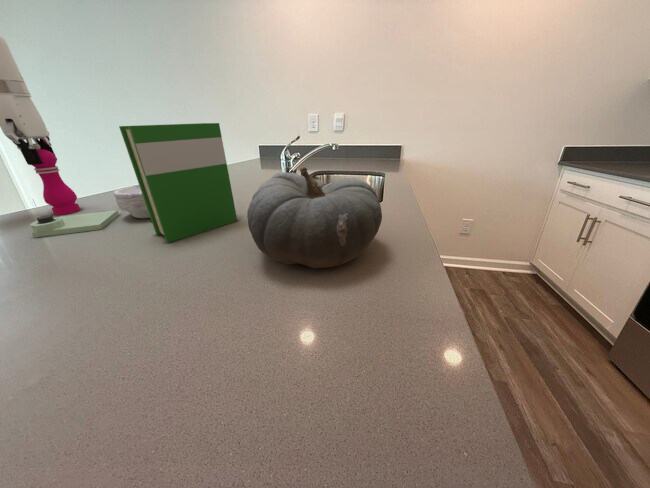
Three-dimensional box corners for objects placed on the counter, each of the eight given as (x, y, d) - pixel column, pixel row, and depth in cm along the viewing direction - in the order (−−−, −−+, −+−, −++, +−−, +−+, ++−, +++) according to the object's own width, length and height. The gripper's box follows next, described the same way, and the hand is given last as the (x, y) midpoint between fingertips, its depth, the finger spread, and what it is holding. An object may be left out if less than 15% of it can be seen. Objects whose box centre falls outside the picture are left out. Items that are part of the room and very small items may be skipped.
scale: (31, 238, 62) (24, 227, 61) (59, 221, 73) (54, 211, 71) (101, 229, 66) (96, 218, 65) (119, 214, 77) (115, 205, 75)
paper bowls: (172, 202, 87) (165, 179, 83) (190, 212, 77) (183, 186, 73) (118, 214, 77) (107, 188, 73) (130, 227, 67) (118, 197, 64)
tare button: (36, 225, 63) (33, 219, 62) (43, 221, 65) (40, 215, 64) (51, 223, 63) (47, 217, 63) (57, 220, 66) (54, 214, 65)
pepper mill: (46, 214, 79) (9, 144, 70) (74, 207, 85) (43, 142, 76) (60, 216, 76) (23, 144, 68) (87, 209, 82) (57, 142, 73)
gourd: (258, 218, 63) (260, 144, 54) (357, 228, 67) (373, 160, 58) (237, 286, 42) (233, 184, 33) (382, 295, 46) (414, 206, 37)
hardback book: (168, 242, 58) (129, 126, 47) (156, 234, 63) (118, 126, 52) (237, 220, 70) (219, 123, 59) (223, 214, 74) (204, 123, 64)
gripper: (13, 93, 72) (45, 159, 80) (-42, 86, 58) (4, 168, 66) (46, 93, 74) (74, 158, 82) (1, 86, 60) (41, 166, 68)
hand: (43, 162), depth 74 cm, fingers closed on pepper mill, 6 cm apart
